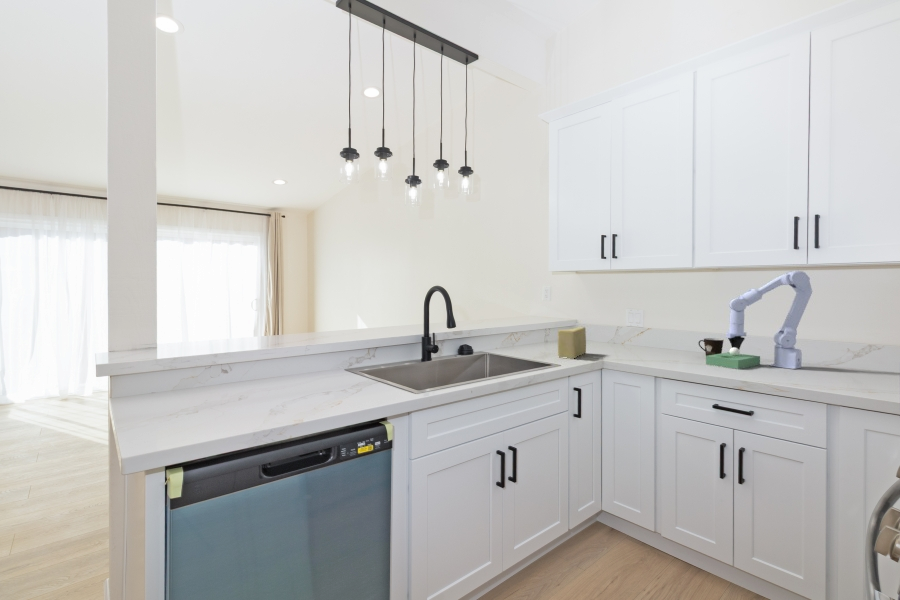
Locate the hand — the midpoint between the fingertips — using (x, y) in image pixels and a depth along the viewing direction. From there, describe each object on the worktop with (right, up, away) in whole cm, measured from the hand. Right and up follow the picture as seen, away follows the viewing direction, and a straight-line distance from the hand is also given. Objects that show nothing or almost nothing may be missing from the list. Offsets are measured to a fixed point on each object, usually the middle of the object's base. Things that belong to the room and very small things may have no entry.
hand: (735, 352), depth 202 cm
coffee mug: (-2, -5, +16) cm, 17 cm away
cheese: (-69, -5, +25) cm, 74 cm away
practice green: (-3, -6, -2) cm, 7 cm away
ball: (-1, 0, -1) cm, 2 cm away
